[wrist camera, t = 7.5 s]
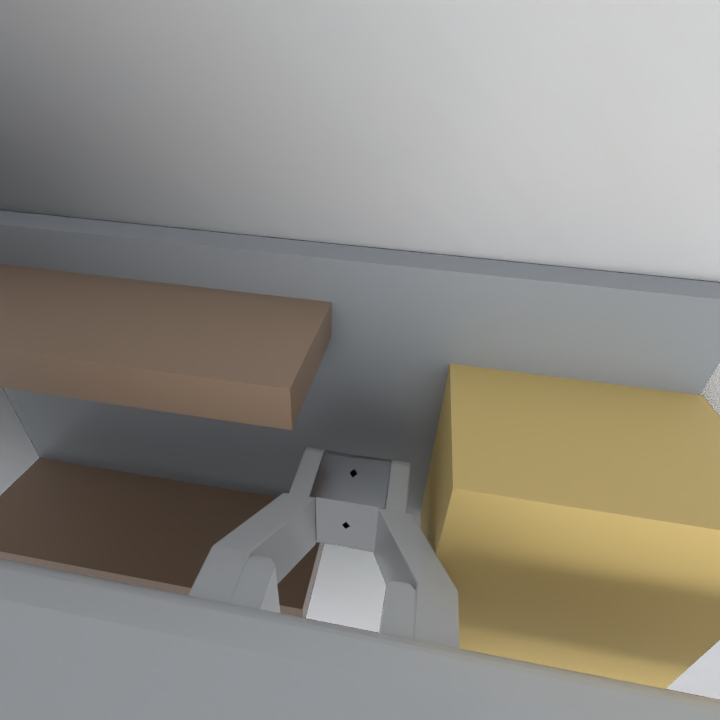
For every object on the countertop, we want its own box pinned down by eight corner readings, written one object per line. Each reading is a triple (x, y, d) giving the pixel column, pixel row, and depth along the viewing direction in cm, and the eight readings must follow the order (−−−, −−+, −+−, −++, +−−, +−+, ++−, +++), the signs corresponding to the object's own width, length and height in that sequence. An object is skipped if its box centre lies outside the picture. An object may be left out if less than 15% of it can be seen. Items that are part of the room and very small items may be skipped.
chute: (76, 475, 18) (-18, 579, 14) (-53, 205, 12) (-275, 266, 8) (573, 559, 16) (612, 705, 12) (730, 283, 10) (903, 413, 6)
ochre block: (420, 512, 14) (413, 643, 11) (450, 363, 11) (453, 488, 8) (610, 543, 14) (662, 691, 10) (702, 395, 10) (824, 546, 7)
